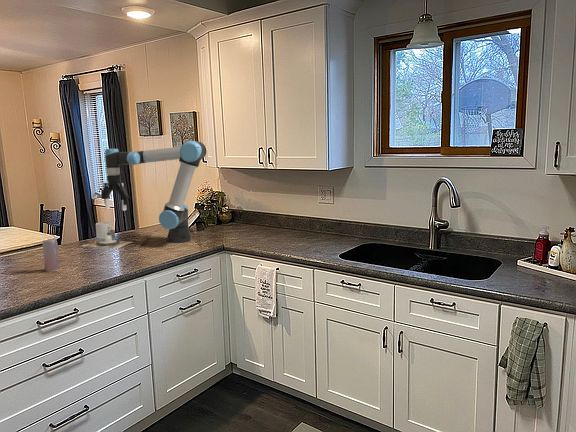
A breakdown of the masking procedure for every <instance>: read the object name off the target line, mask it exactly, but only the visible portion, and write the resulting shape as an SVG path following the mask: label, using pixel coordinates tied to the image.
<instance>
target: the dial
mask: <svg viewBox="0 0 576 432" xmlns="http://www.w3.org/2000/svg"><path fill="white" fill-rule="evenodd" d="M115 235H116V234H115V229H114V228H113V229H110V231H109V232H108V233H107V235H104V238H103V239H101V240H102V241H99V243H114V242H117V240H112V239H115V238H116V236H115Z"/></svg>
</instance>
